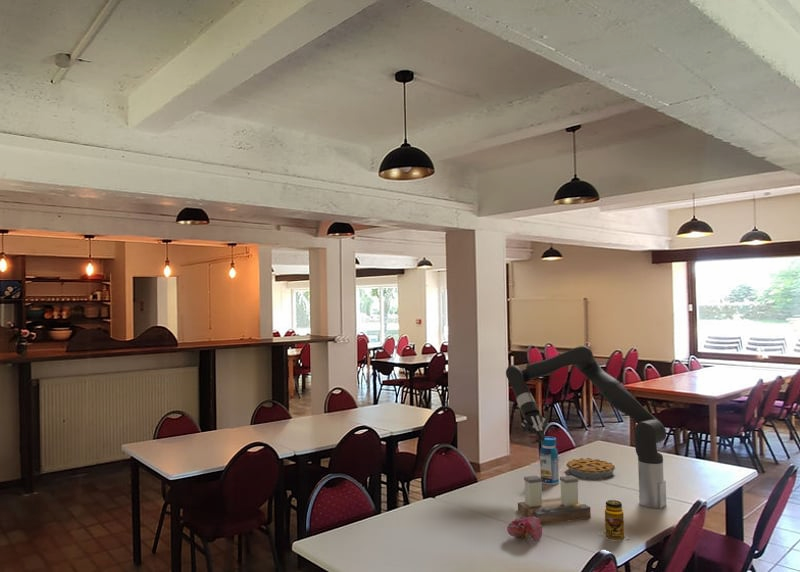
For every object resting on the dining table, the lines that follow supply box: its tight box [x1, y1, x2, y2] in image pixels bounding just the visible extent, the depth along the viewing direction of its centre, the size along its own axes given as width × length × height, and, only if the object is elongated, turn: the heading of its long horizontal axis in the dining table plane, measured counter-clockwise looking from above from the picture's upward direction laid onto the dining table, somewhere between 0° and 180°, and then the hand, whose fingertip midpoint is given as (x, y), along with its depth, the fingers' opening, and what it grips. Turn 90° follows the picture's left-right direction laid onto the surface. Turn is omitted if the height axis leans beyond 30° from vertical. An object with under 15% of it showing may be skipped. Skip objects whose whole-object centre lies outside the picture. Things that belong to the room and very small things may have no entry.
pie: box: [566, 457, 616, 480], centre depth 275 cm, size 22×22×5 cm
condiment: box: [597, 499, 631, 543], centre depth 201 cm, size 7×8×12 cm
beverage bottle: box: [539, 436, 560, 486], centre depth 262 cm, size 8×8×20 cm
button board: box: [517, 496, 591, 526], centre depth 223 cm, size 16×22×5 cm
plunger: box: [523, 475, 543, 507], centre depth 224 cm, size 4×5×10 cm
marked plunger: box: [559, 475, 579, 506], centre depth 223 cm, size 4×5×10 cm
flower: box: [506, 516, 543, 547], centre depth 199 cm, size 11×10×10 cm
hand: (542, 439), depth 245 cm, fingers closed
